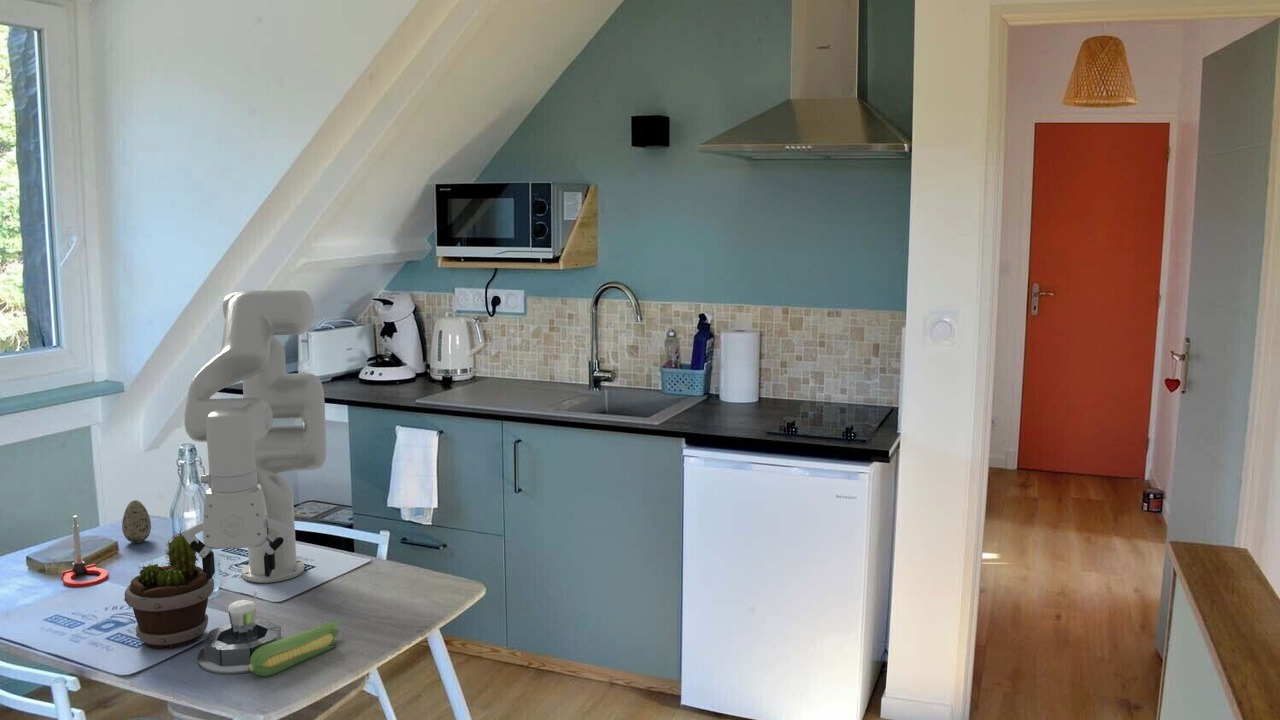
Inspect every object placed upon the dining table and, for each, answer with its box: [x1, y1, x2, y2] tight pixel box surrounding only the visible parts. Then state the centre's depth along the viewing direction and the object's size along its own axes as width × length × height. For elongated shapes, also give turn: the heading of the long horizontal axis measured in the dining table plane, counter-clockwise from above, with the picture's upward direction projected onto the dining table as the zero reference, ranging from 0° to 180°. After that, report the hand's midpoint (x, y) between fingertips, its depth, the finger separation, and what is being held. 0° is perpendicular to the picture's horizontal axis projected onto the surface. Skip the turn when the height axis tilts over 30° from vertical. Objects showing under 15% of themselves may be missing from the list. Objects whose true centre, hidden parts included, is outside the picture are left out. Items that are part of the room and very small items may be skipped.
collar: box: [197, 619, 285, 675], centre depth 185 cm, size 15×15×4 cm
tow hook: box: [60, 515, 110, 588], centre depth 218 cm, size 8×13×9 cm
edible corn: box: [249, 620, 341, 678], centre depth 183 cm, size 5×20×5 cm
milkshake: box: [227, 590, 258, 644], centre depth 184 cm, size 4×5×10 cm
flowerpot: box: [123, 527, 215, 650], centre depth 190 cm, size 14×15×20 cm
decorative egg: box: [121, 499, 152, 544], centre depth 241 cm, size 6×6×10 cm
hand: (239, 574), depth 183 cm, fingers open, 9 cm apart
